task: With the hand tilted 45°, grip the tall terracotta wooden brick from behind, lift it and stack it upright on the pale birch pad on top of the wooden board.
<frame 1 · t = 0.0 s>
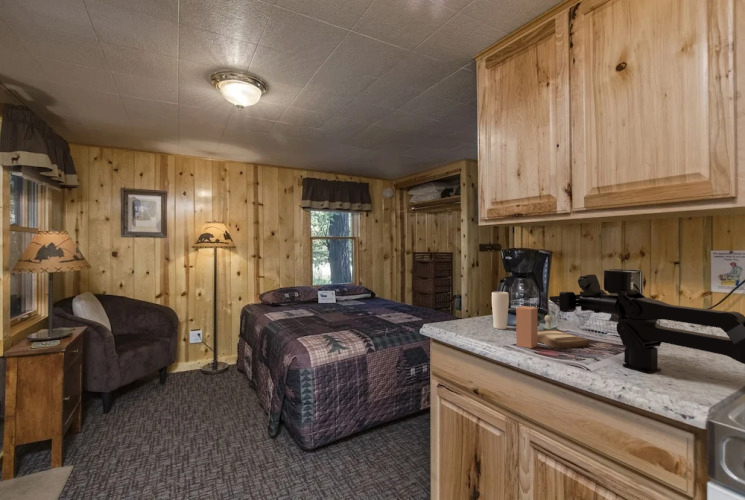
hand: (559, 297, 119), 17 cm above the worktop, tool horizontal, fingers open, 9 cm apart
terracotta tower brick: (527, 345, 119), on the worktop
pacifier: (549, 330, 143), on the worktop
wooden board: (555, 341, 125), on the worktop
drinking glass: (500, 328, 146), on the worktop
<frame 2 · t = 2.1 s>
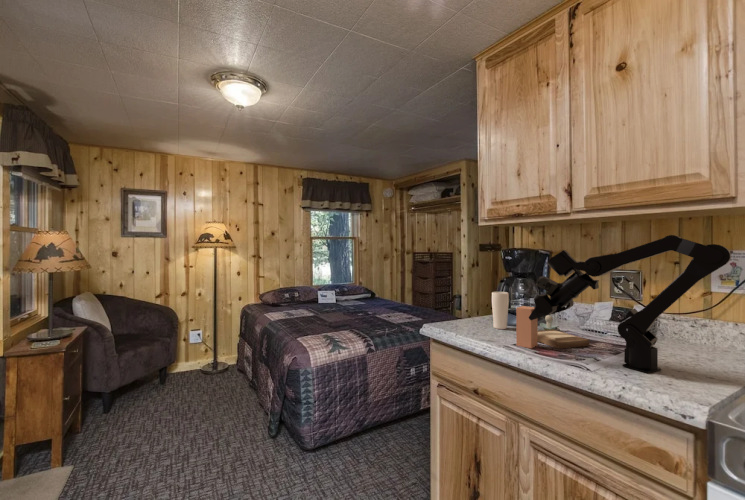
hand: (535, 317, 117), 10 cm above the worktop, tool tilted 45°, fingers open, 9 cm apart
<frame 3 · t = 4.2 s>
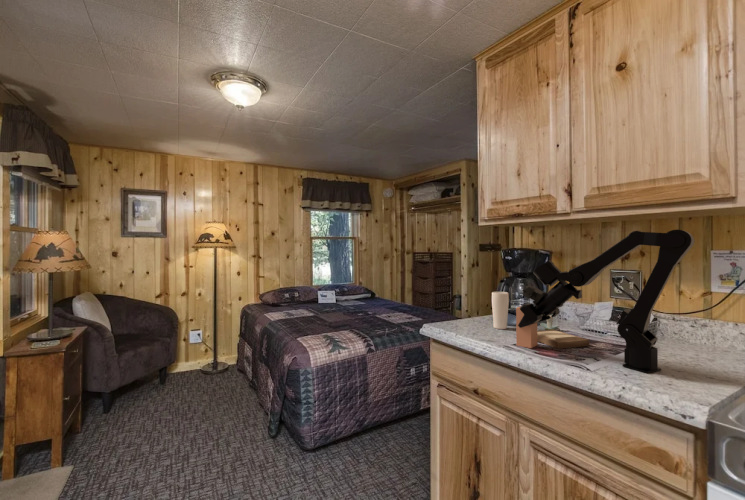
hand: (522, 325, 120), 7 cm above the worktop, tool tilted 45°, fingers closed on terracotta tower brick, 5 cm apart
terracotta tower brick: (526, 345, 119), on the worktop, touching gripper
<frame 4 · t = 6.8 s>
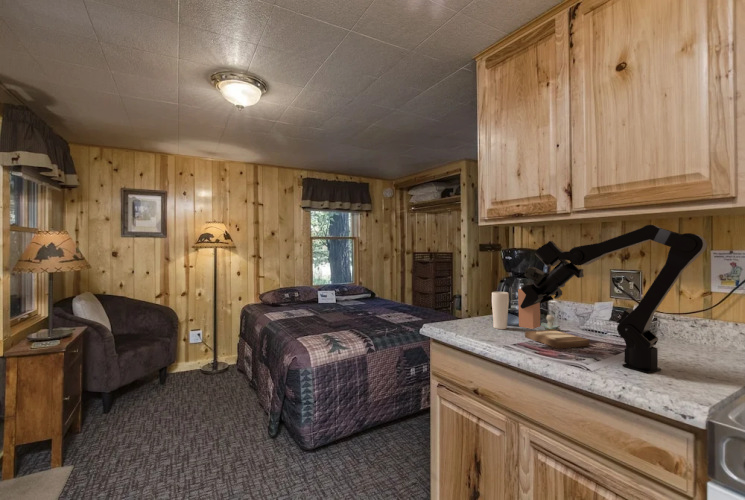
hand: (525, 306, 121), 13 cm above the worktop, tool tilted 45°, fingers closed on terracotta tower brick, 5 cm apart
terracotta tower brick: (529, 326, 120), point 6 cm above the worktop, touching gripper
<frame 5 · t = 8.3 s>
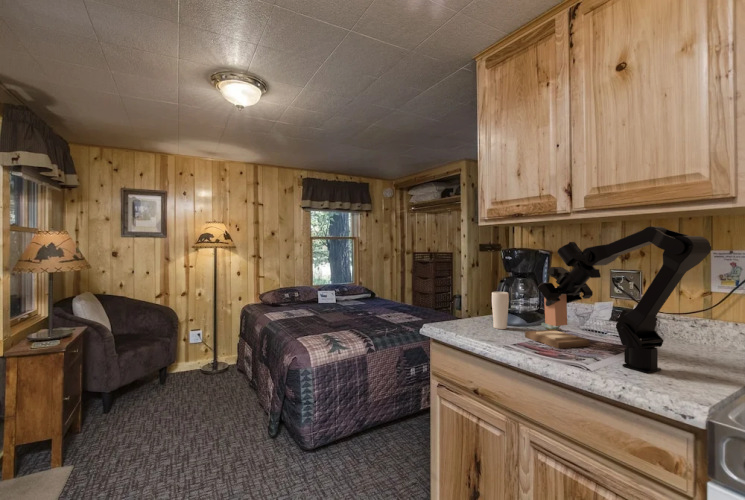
hand: (552, 305, 126), 13 cm above the worktop, tool tilted 45°, fingers closed on terracotta tower brick, 5 cm apart
terracotta tower brick: (556, 324, 125), point 6 cm above the worktop, touching gripper
when the fingers open (10 cm above the worktop, at t = 9.6 s): terracotta tower brick stays where it is, resting on wooden board.
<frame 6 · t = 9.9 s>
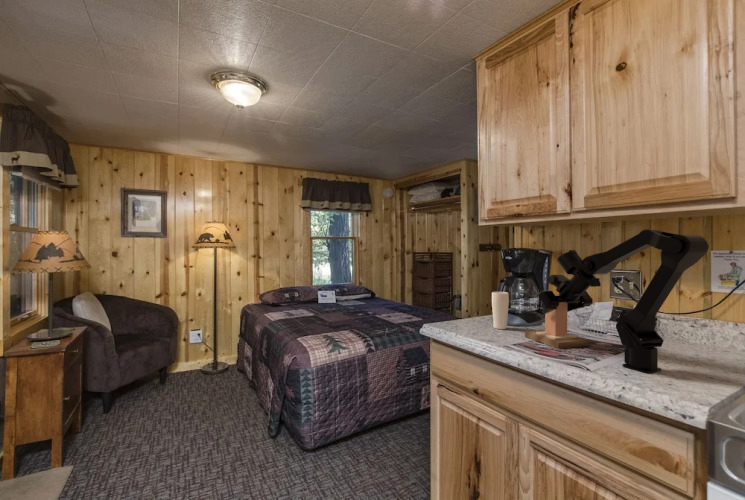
hand: (552, 312, 126), 10 cm above the worktop, tool tilted 45°, fingers open, 8 cm apart
terracotta tower brick: (555, 334, 125), point 3 cm above the worktop, touching wooden board
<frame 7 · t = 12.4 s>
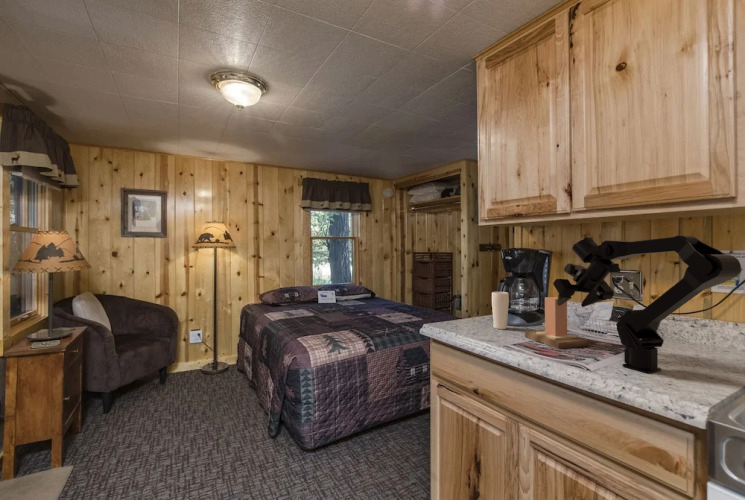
hand: (570, 305, 120), 14 cm above the worktop, tool tilted 40°, fingers open, 9 cm apart
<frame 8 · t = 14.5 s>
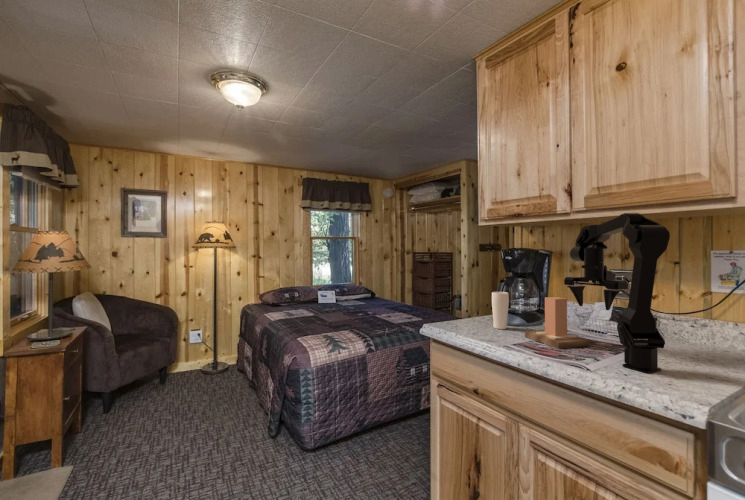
hand: (593, 308, 118), 13 cm above the worktop, tool pointing down, fingers open, 9 cm apart
at the end: terracotta tower brick 0.1 cm off-centre on the wooden board, point 2.5 cm above the wooden board's base; terracotta tower brick tilted 0°; the gripper is holding nothing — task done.
